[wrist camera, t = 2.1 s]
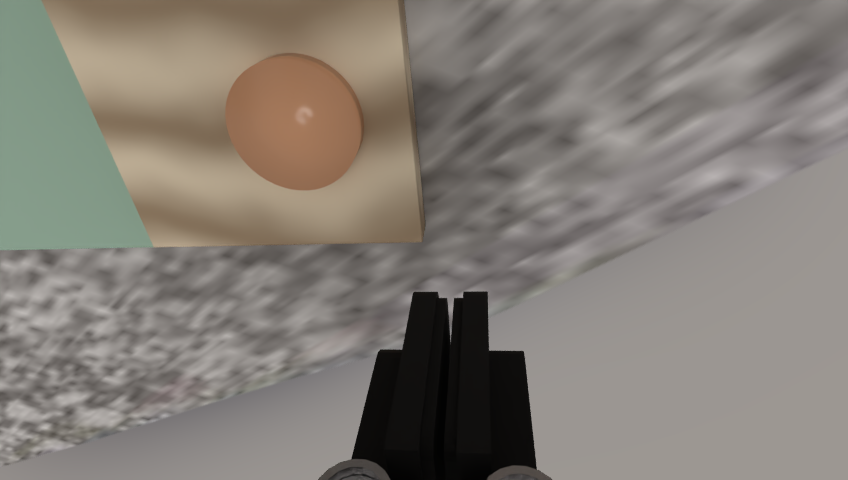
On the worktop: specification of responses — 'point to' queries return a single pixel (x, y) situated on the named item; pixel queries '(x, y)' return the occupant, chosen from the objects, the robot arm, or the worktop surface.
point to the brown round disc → (295, 121)
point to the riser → (206, 124)
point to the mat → (54, 148)
